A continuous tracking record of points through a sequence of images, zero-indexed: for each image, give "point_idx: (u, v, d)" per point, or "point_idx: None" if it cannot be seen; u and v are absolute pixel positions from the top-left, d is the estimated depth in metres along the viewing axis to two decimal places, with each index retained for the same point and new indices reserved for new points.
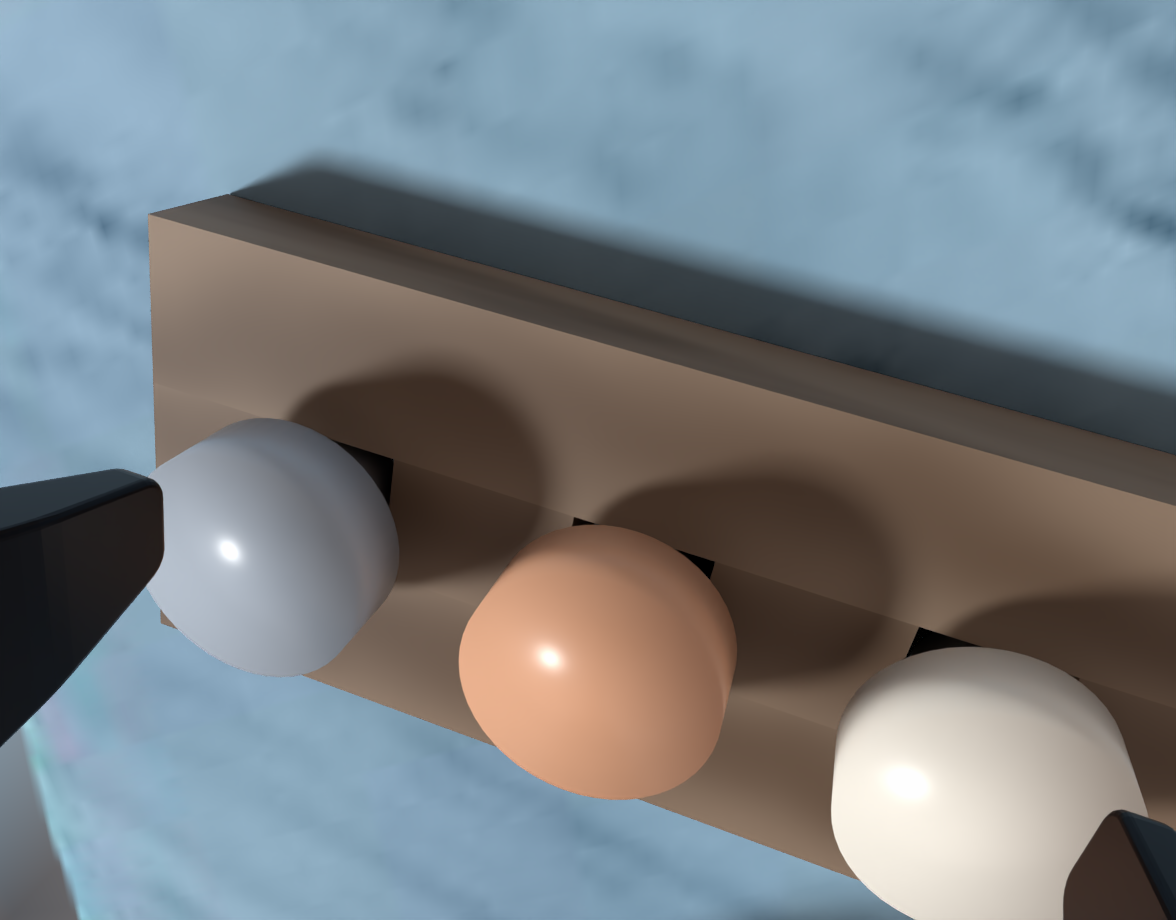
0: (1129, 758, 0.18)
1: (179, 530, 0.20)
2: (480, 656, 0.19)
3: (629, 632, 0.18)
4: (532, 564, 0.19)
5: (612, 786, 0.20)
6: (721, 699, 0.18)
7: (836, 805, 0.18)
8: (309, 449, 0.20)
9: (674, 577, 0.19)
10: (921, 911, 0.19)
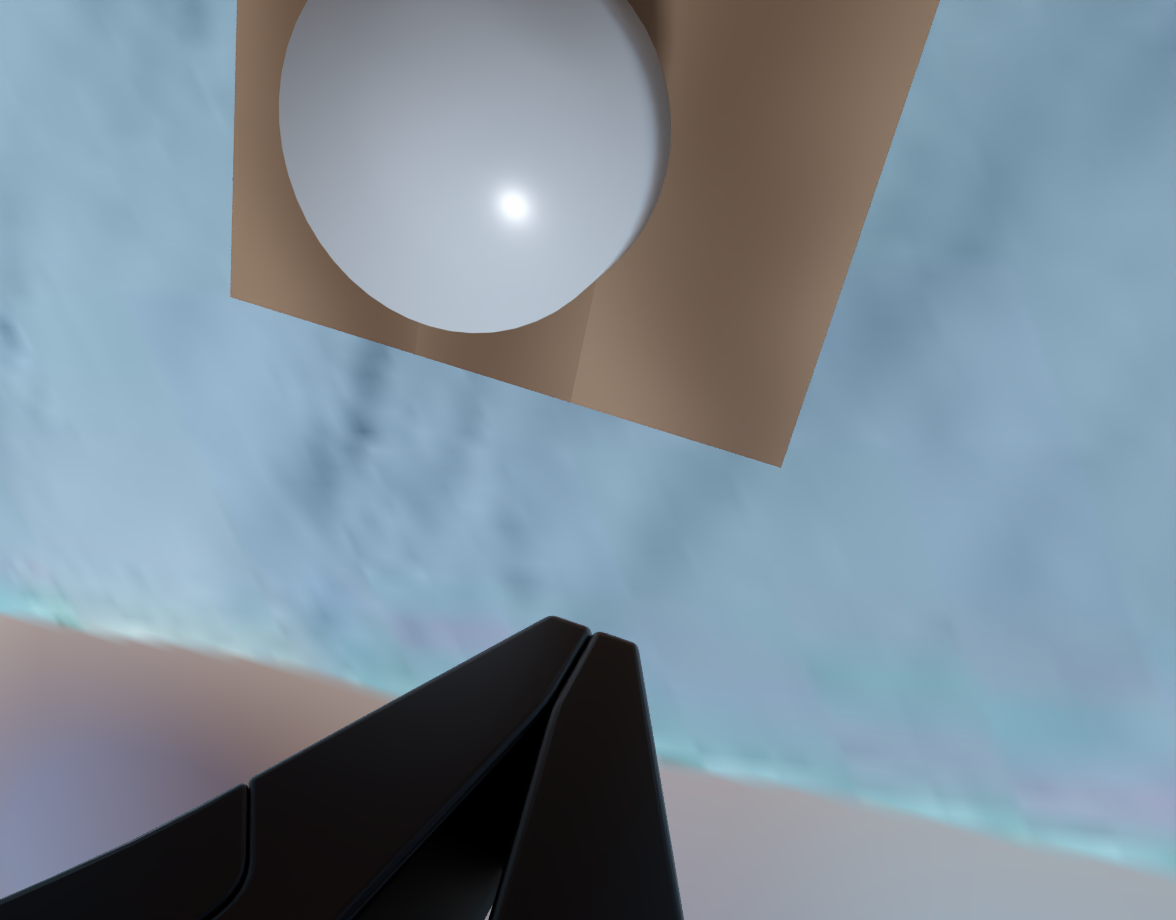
0: None
1: (409, 238, 0.14)
2: None
3: None
4: None
5: None
6: None
7: None
8: None
9: None
10: None
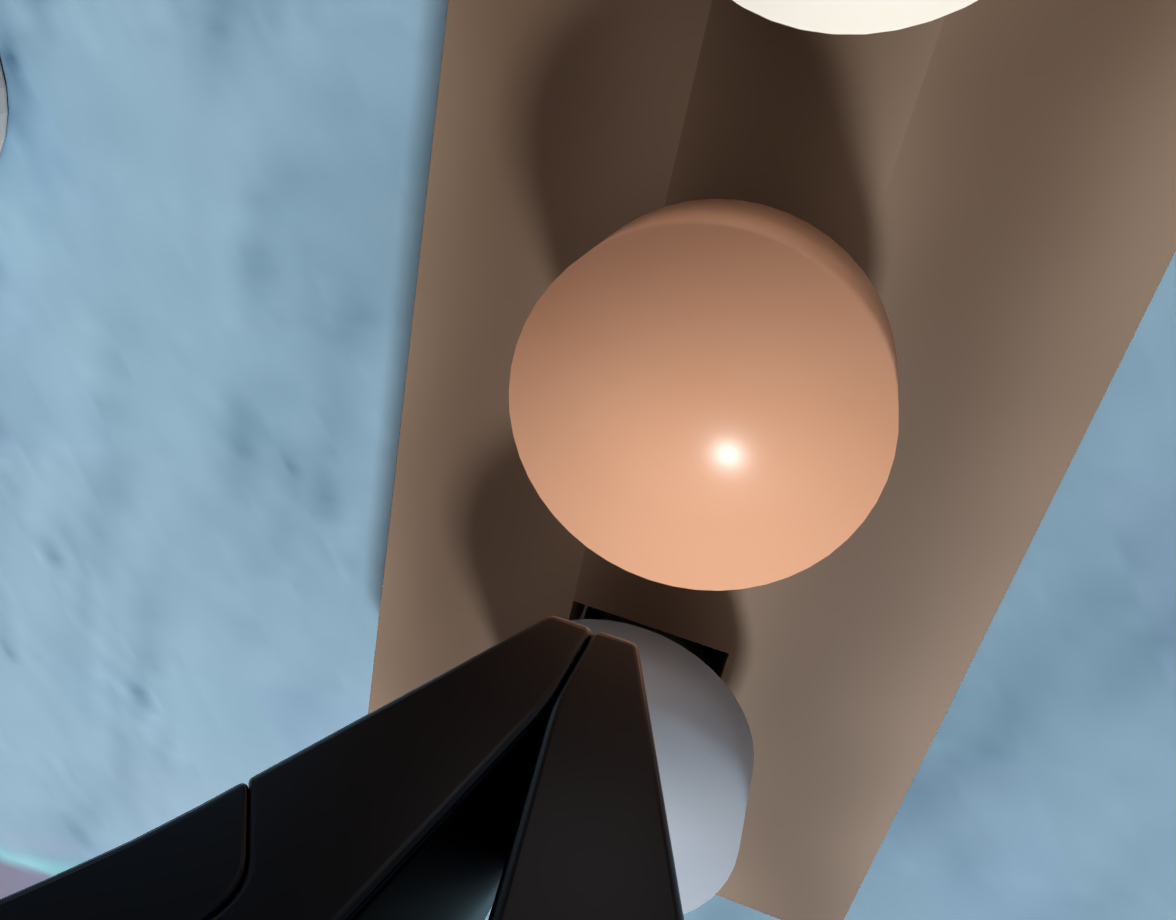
0: None
1: None
2: (658, 555, 0.14)
3: (583, 351, 0.13)
4: None
5: (869, 401, 0.13)
6: (672, 225, 0.12)
7: (858, 25, 0.11)
8: None
9: None
10: None
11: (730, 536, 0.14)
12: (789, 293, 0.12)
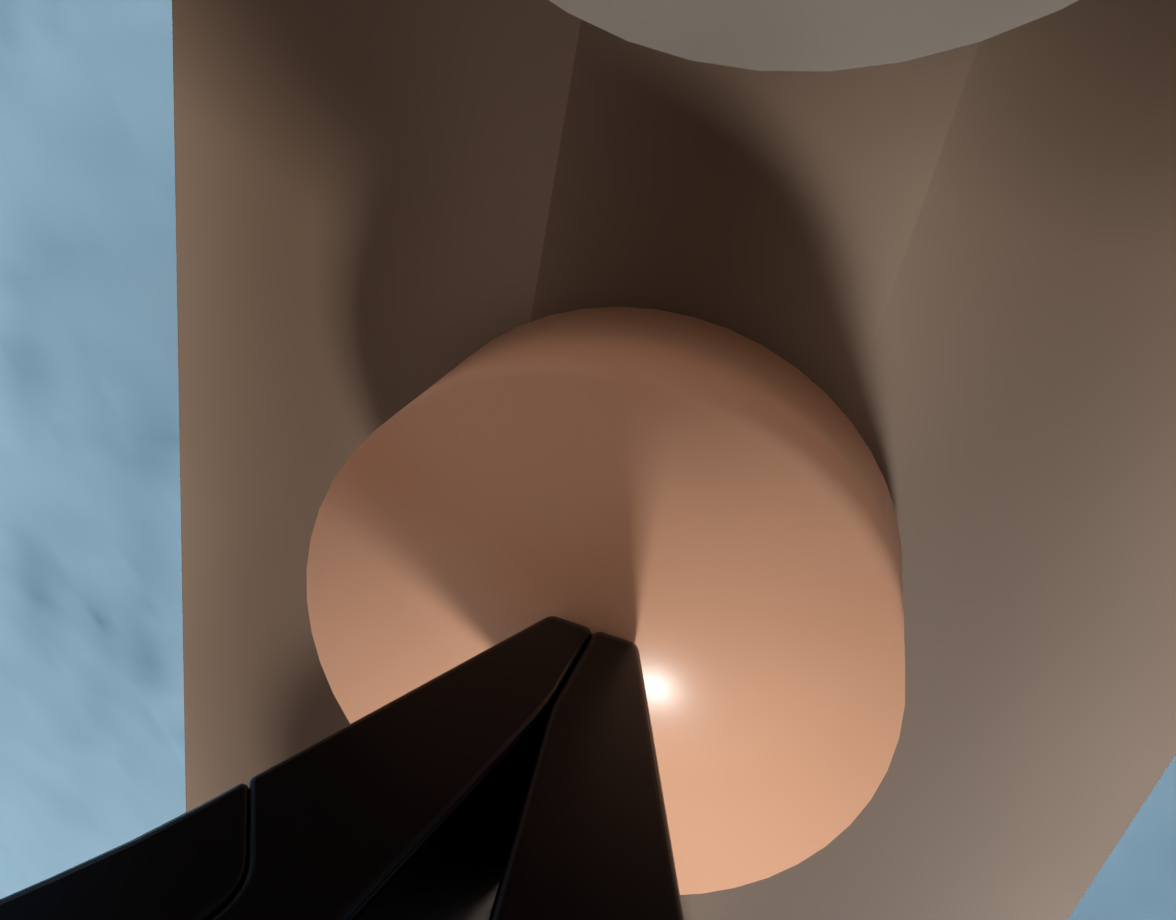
0: None
1: None
2: None
3: (409, 555, 0.09)
4: None
5: (857, 655, 0.08)
6: (530, 374, 0.07)
7: (815, 51, 0.05)
8: None
9: None
10: None
11: None
12: (722, 487, 0.07)
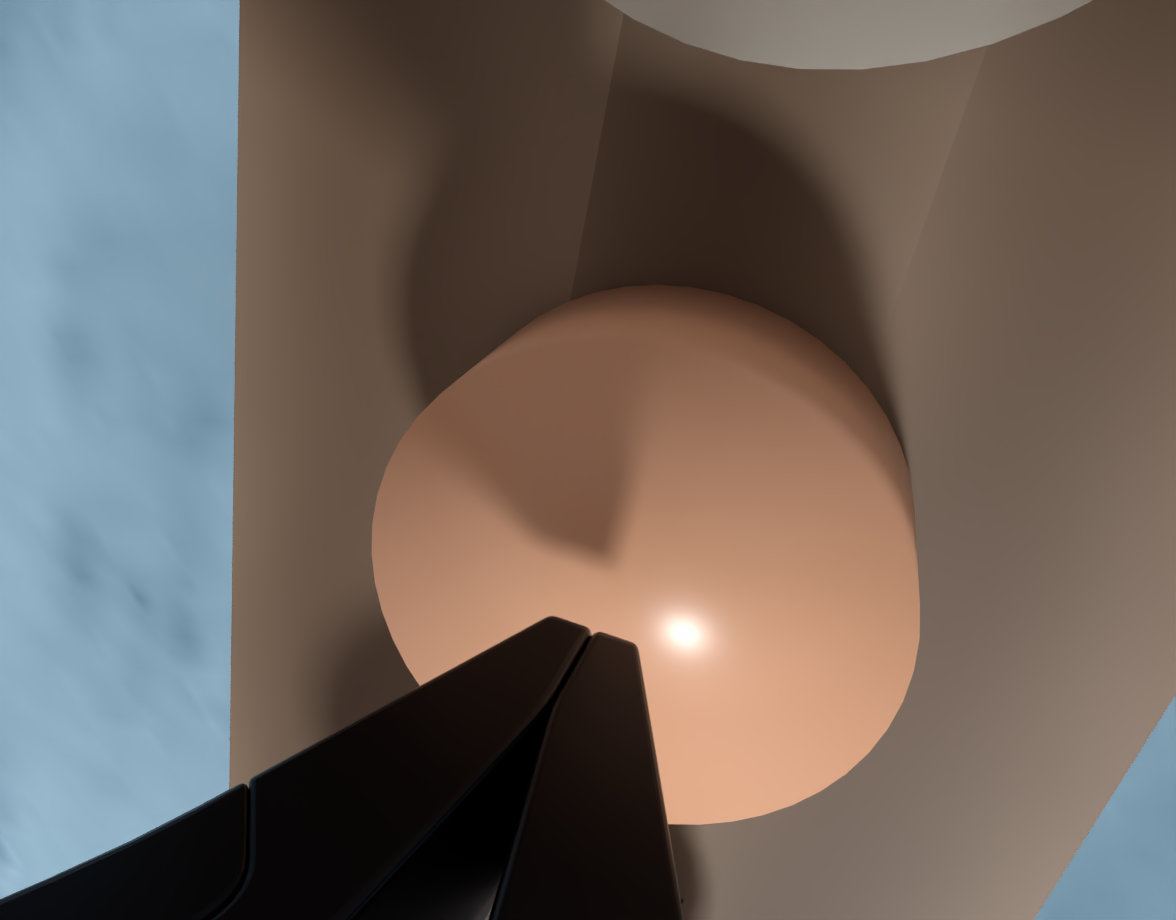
0: None
1: None
2: None
3: (468, 508, 0.09)
4: None
5: (876, 593, 0.09)
6: (584, 340, 0.08)
7: (849, 52, 0.06)
8: None
9: None
10: None
11: (682, 758, 0.10)
12: (757, 442, 0.08)
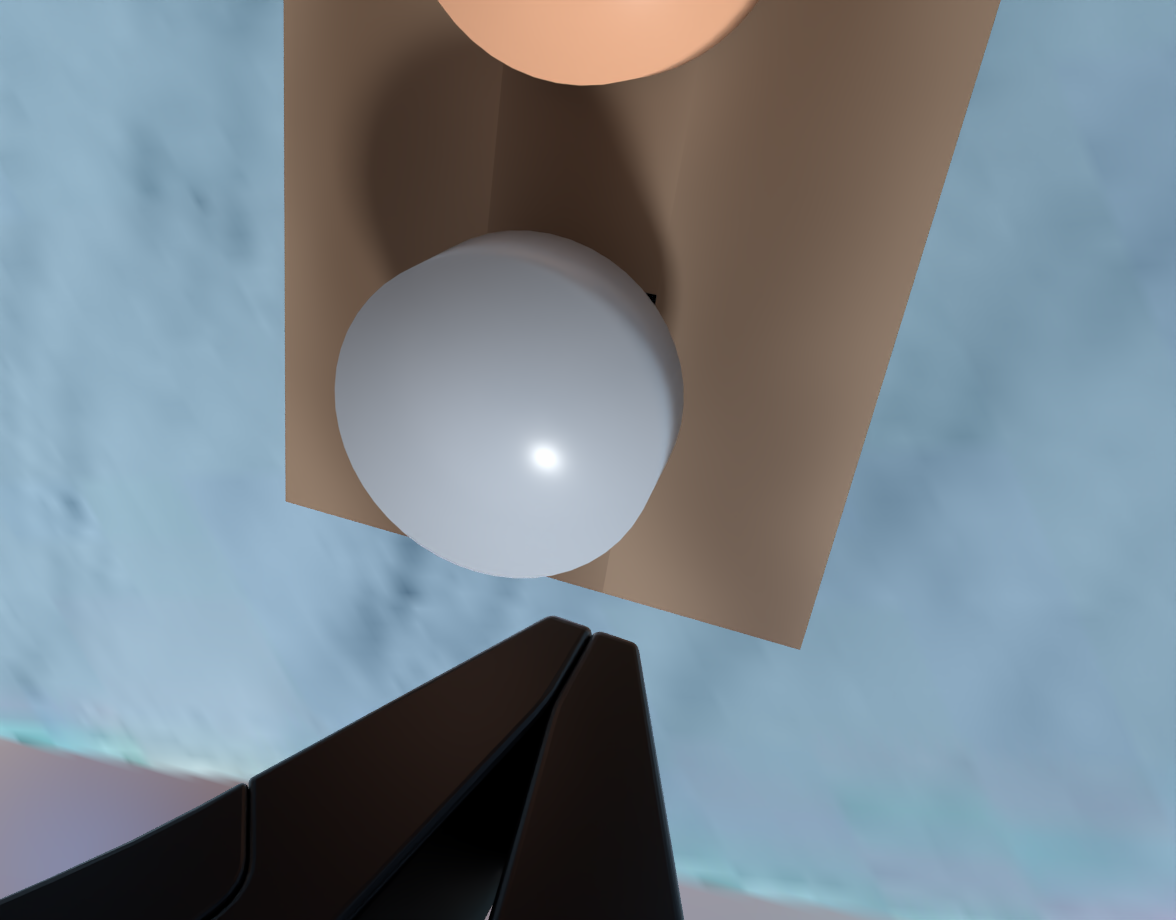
0: None
1: (454, 501, 0.16)
2: (562, 48, 0.14)
3: None
4: None
5: None
6: None
7: None
8: None
9: None
10: None
11: (633, 5, 0.13)
12: None
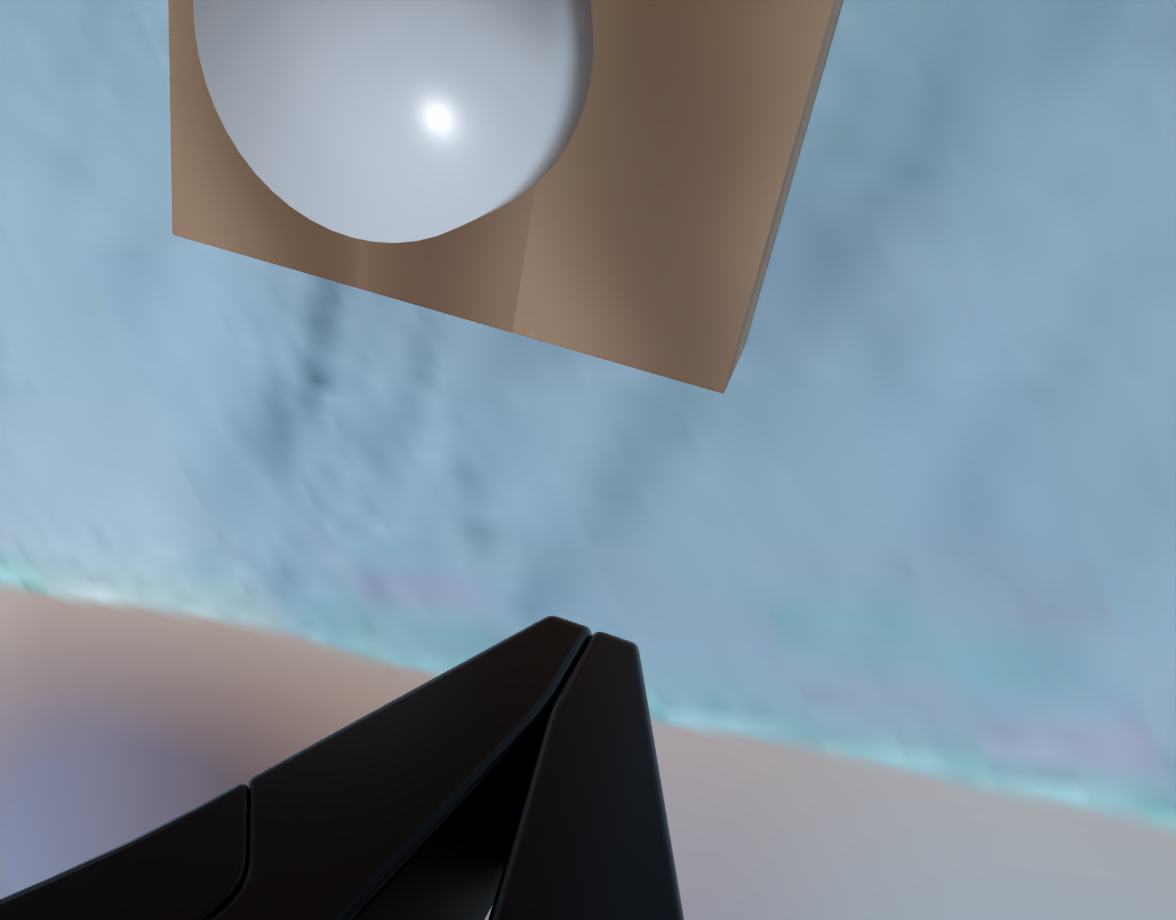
0: None
1: (327, 144, 0.14)
2: None
3: None
4: None
5: None
6: None
7: None
8: None
9: None
10: None
11: None
12: None
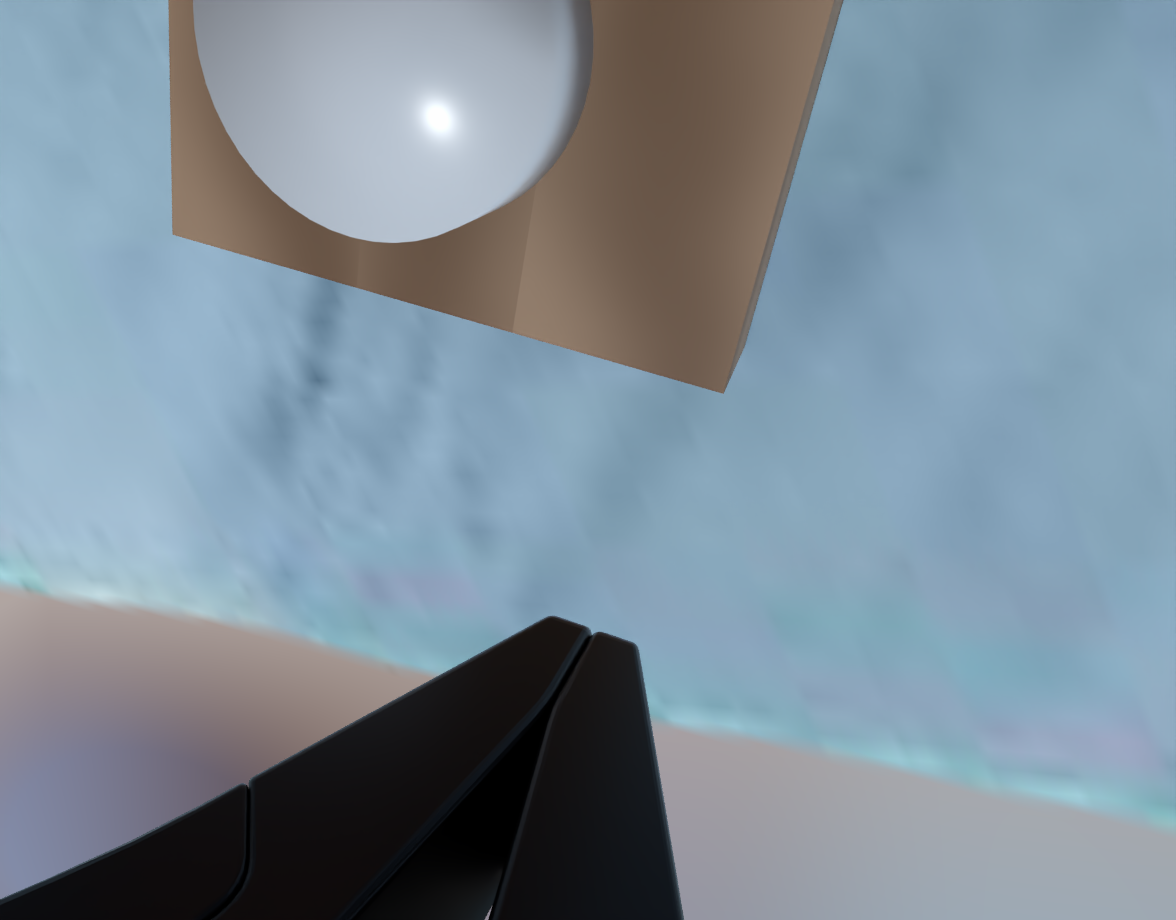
0: None
1: (327, 144, 0.14)
2: None
3: None
4: None
5: None
6: None
7: None
8: None
9: None
10: None
11: None
12: None
